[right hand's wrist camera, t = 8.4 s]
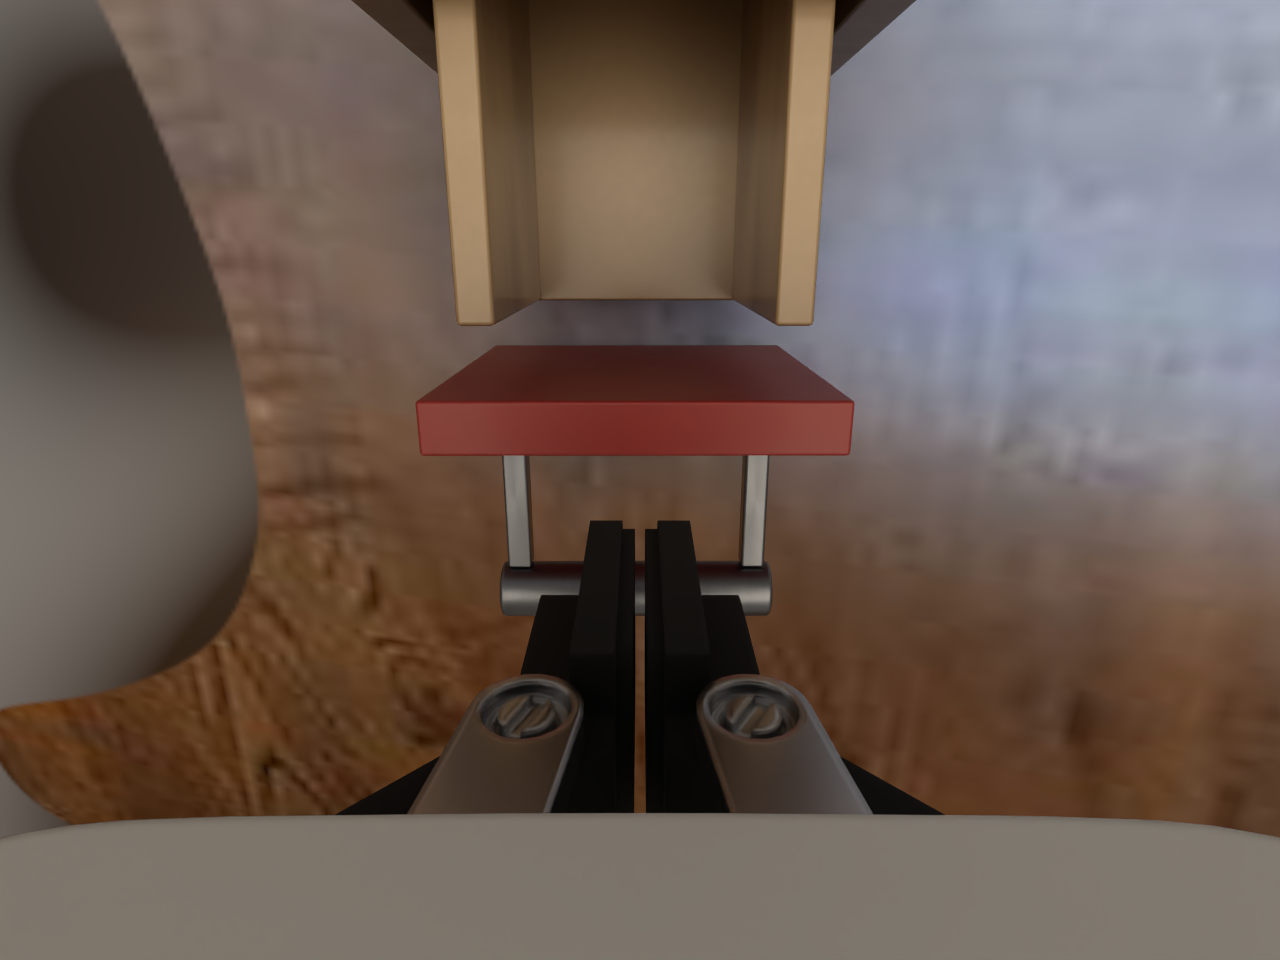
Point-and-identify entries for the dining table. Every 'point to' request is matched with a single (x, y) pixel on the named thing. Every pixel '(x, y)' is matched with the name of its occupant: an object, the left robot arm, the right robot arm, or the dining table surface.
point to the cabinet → (858, 19)
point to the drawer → (634, 243)
